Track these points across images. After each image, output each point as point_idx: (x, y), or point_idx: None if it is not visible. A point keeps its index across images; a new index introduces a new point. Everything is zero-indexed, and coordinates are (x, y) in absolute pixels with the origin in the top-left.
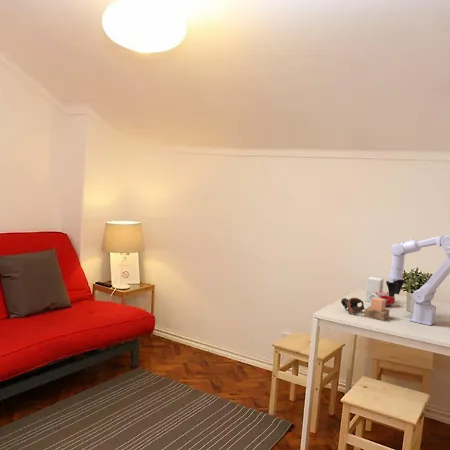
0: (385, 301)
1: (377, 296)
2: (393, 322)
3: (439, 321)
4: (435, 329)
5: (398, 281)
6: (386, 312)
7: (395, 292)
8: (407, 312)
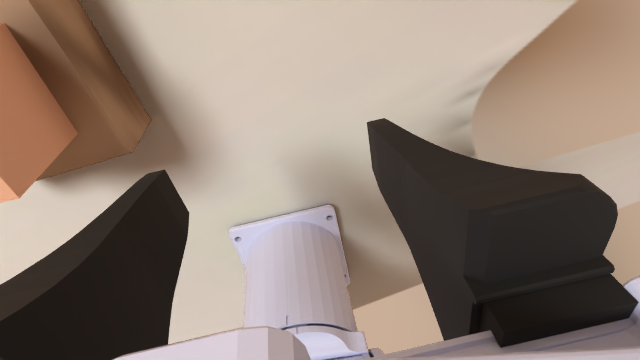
0: (25, 184)
1: None
2: (79, 207)
3: (392, 276)
4: (235, 327)
5: (454, 304)
6: (45, 175)
7: (372, 141)
8: (430, 110)
